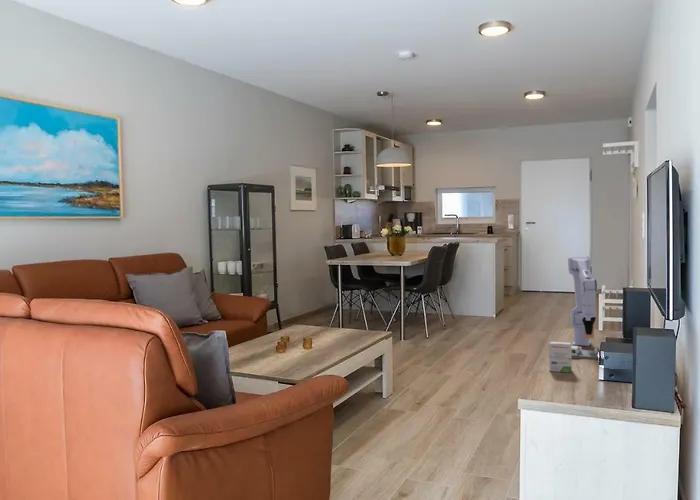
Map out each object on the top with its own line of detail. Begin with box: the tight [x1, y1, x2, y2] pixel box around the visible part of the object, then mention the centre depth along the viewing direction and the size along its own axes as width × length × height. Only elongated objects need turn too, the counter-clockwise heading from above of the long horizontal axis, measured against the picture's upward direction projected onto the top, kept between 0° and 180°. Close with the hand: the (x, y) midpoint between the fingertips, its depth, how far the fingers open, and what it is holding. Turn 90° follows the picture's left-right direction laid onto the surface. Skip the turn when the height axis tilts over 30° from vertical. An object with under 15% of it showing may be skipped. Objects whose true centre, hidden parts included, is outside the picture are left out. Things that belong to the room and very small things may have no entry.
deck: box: [571, 346, 599, 360], centre depth 269 cm, size 14×14×4 cm
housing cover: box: [571, 344, 579, 355], centre depth 268 cm, size 6×5×3 cm
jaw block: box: [584, 325, 595, 339], centre depth 273 cm, size 4×4×5 cm
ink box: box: [548, 341, 573, 374], centre depth 243 cm, size 8×5×12 cm, turn 65°
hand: (589, 333), depth 273 cm, fingers closed on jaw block, 4 cm apart
